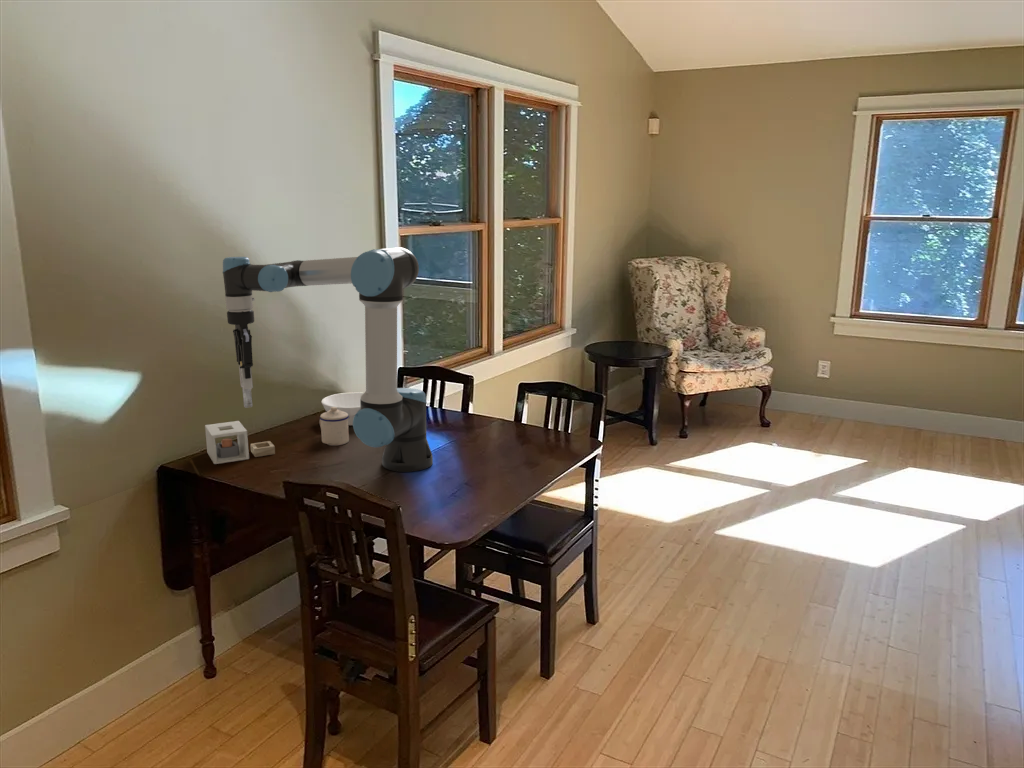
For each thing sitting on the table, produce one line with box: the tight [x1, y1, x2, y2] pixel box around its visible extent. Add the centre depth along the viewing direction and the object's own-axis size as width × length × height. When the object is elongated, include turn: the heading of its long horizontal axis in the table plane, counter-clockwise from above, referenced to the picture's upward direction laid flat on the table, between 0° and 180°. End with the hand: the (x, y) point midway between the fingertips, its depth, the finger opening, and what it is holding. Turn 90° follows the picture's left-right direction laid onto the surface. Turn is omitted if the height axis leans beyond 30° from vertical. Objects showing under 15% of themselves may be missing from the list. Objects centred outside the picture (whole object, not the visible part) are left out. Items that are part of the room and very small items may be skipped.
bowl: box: [321, 391, 365, 426], centre depth 278 cm, size 21×21×8 cm
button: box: [221, 437, 233, 448], centre depth 240 cm, size 3×3×4 cm
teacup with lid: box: [319, 407, 350, 447], centre depth 256 cm, size 12×9×12 cm
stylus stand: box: [250, 440, 276, 458], centre depth 244 cm, size 6×6×3 cm
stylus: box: [239, 361, 253, 408], centre depth 237 cm, size 2×2×14 cm
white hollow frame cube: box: [204, 420, 250, 465], centre depth 240 cm, size 12×10×9 cm
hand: (246, 387), depth 237 cm, fingers closed on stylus, 2 cm apart
